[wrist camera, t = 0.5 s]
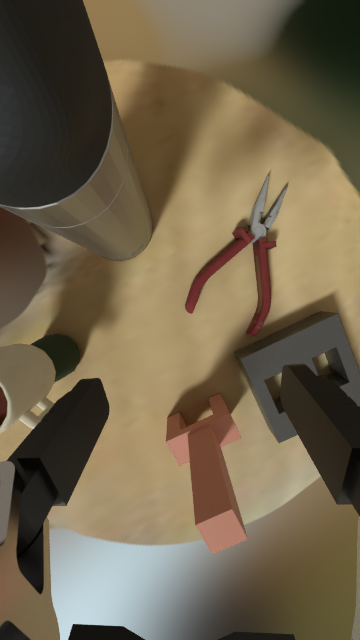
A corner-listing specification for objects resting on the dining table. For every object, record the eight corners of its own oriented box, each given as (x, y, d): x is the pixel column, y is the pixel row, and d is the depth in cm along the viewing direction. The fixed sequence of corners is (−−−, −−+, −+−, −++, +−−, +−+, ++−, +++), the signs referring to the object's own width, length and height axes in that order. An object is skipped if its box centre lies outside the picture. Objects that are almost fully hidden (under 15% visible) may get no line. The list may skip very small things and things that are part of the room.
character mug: (14, 347, 28) (-119, 392, 16) (45, 310, 28) (-66, 327, 15) (74, 394, 30) (-3, 473, 17) (105, 361, 29) (49, 416, 16)
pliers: (311, 200, 27) (325, 191, 25) (253, 335, 30) (260, 339, 27) (234, 168, 26) (240, 154, 24) (181, 309, 29) (182, 311, 26)
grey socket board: (234, 352, 29) (240, 359, 26) (321, 311, 29) (338, 313, 26) (269, 428, 31) (278, 443, 28) (351, 391, 31) (370, 402, 28)
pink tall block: (167, 417, 31) (160, 535, 16) (220, 393, 30) (263, 490, 15) (178, 438, 31) (182, 571, 16) (230, 414, 31) (282, 528, 16)
